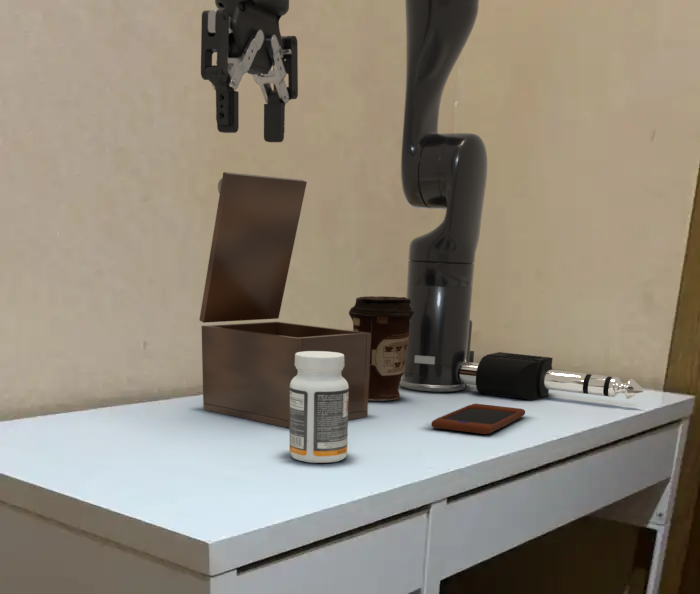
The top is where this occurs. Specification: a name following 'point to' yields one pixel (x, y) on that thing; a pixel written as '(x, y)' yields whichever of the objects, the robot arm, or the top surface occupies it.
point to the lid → (251, 247)
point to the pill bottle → (319, 408)
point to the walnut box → (275, 367)
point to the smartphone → (478, 418)
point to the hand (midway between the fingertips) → (251, 137)
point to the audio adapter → (537, 378)
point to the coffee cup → (384, 341)
